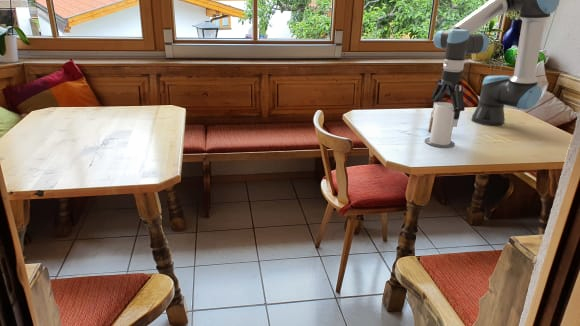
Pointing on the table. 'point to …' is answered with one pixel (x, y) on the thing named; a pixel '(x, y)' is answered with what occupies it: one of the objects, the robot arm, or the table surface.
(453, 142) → the coaster
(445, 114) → the cup
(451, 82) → the robot arm
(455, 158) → the table surface
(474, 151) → the table surface
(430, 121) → the pepper mill
